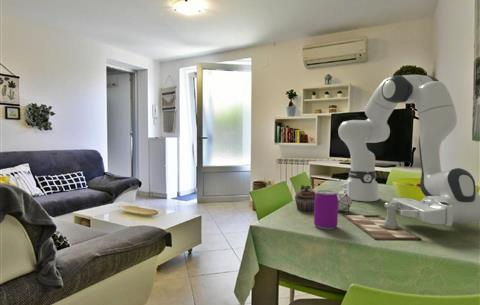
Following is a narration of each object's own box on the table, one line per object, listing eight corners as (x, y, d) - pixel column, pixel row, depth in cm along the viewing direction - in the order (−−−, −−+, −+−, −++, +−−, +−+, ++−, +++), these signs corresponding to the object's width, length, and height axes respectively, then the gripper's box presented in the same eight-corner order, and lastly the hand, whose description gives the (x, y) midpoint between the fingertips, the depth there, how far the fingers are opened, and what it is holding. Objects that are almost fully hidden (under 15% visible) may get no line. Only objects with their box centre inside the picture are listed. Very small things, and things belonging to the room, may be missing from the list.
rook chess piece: (380, 225, 100) (381, 202, 99) (392, 225, 100) (393, 202, 100) (388, 229, 95) (389, 205, 95) (401, 229, 96) (402, 205, 95)
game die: (346, 221, 119) (357, 205, 113) (326, 212, 121) (335, 196, 114) (347, 206, 126) (358, 191, 120) (328, 198, 127) (338, 182, 121)
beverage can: (313, 228, 97) (314, 193, 96) (314, 222, 104) (315, 189, 104) (337, 231, 95) (339, 194, 94) (336, 224, 102) (337, 190, 102)
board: (343, 215, 113) (343, 214, 113) (378, 216, 114) (378, 215, 114) (375, 239, 87) (375, 238, 87) (421, 240, 88) (421, 238, 88)
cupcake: (320, 212, 118) (321, 188, 118) (296, 212, 119) (297, 187, 118) (315, 206, 128) (315, 184, 127) (293, 206, 128) (293, 183, 128)
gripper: (415, 194, 108) (377, 193, 107) (456, 207, 87) (410, 207, 87) (414, 210, 108) (377, 210, 108) (455, 228, 88) (410, 227, 87)
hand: (392, 209), depth 97 cm, fingers open, 8 cm apart
